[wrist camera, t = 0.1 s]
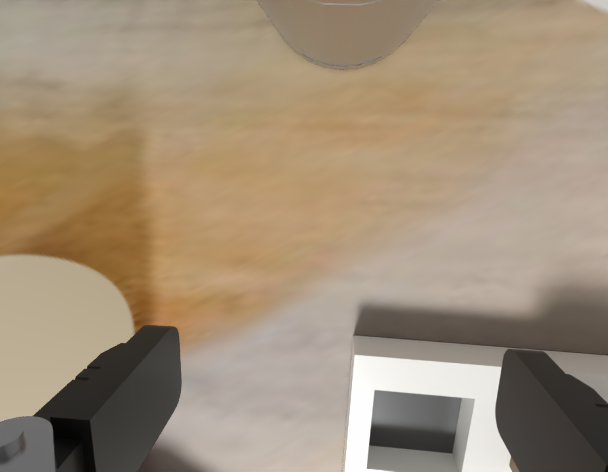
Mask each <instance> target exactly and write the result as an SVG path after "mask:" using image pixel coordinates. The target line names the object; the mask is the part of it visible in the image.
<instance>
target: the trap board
mask: <svg viewBox="0 0 608 472" xmlns="http://www.w3.org/2000/svg"><path fill="white" fill-rule="evenodd" d="M508 349H520V348H507V347H494V346H482V345H469V344H456V343H444V342H431V341H419V340H406V339H393V338H381V337H368V336H355V335H353V347H352V359H351V371H350V383H349V395H348V407H347V419H346V432H345V444H344V456H343V468H342V472H512V470H511V468H510V466H509V463H510V459H511V455H510V453H509V451H508V449H507V448H506V446H505V444H504V442H503V440H502V438H501V436H500V434H499V432H498V428H497V424H496V418H495V406H496V399H497V393H498V386H499V380H500V374H501V368H502V361H503V356H504V354H505V352H506V350H508ZM521 350H532V349H521ZM537 351H544V352H545V353H546V354H547V355H548V356H549V357H550V358H551V359H552V360H553V361H554V362H555V363H556V364H557V365H558V366H559V367H560V368H561V369H562V370H563V371H564V372H565V374H570V375H572V376H574V377H575V378H577V379H578V380H580V381H582V382H583V383H585V384H587V385H588V386H590V387H591V388H593V389H594V390H595V391H596V392H597V393H598V394H599V395H600V396H601V397H602V398H603V399H604V400H605V401H606V402H607V403H608V355H595V354H583V353H570V352H558V351H545V350H537Z"/></svg>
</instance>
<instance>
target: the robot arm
mask: <svg viewBox="0 0 608 472" xmlns="http://www.w3.org/2000/svg"><path fill="white" fill-rule="evenodd" d="M438 1H439V0H257V2H258V3H259V5H260V6H261V8H262V9H263V10H264V12H265V13H266V15H267V16H268V18H269V19H270V21H271V22H272V24H273V25H274V26H275V28H276V29H277V31H278V32H279V34H280V35H281V36H282V38H283V39H284V40H285V41H286V42H287V44H288V45H289V46H290V47H291V48H292V49H293V50H294V51H295V52H296V53H298V54H299V55H301V56H302V57H304V58H305V59H307V60H308V61H310V62H312V63H315V64H317V65H320V66H322V67H325V68H332V69H339V70H346V69H358V68H361V67H364V66H368V65H371V64H374V63H376V62H378V61H379V60H381V59H383V58H385V57H386V56H388V55H390V54H391V53H392V52H393V51H394V50H396V49H397V48H398V47H399V46H400V45H401V44H402V43H403V42H404V41H405V40H406V39H407V38H408V36H409V35H410V34H411V33H412V32H413V30H414V29H415V28H416V27H417V26H418V25H419V24H420V22H421V21H422V20H423V19H424V18H425V16H426V15H427V14H428V13H429V12H430V10H431V9H432V8H433V7H434V5H435V4H436V3H437V2H438ZM180 393H181V362H180V343H179V333H178V330H177V328H176V327H172V326H156V325H145V326H143V327H142V328H141V329H140V330H139V331H138V332H137V333H136V334H135V335H134V336H133V337H132V338H131V339H130V340H129V341H128V342H127V343H120V344H119V345H117V346H115V347H113V348H111V349H109V350H107V351H105V352H103V353H101V354H100V355H99V356H98V357H97V358H96V359H95V360H94V361H93V362H91V363H90V364H89V365H88V366H87V369H84V370H83V371H82V372H81V373H79V374H78V375H77V376H76V378H75V380H72V381H71V382H70V383H68V384H67V385H66V386H65V387H64V388H63V389H62V390H61V391H60V392H59V393H57V394H56V395H55V396H54V397H53V398H52V399H51V400H50V401H49V402H48V403H47V404H45V405H44V406H43V407H42V408H41V409H40V410H39V411H38V412H37V413H36V414H35V415H33V416H26V417H17V418H12V419H8V420H4V421H1V422H0V472H138V470H139V469H140V467H141V465H142V464H143V462H144V460H145V459H146V457H147V455H148V454H149V452H150V450H151V449H152V447H153V445H154V444H155V442H156V440H157V439H158V437H159V435H160V434H161V432H162V430H163V429H164V427H165V425H166V424H167V422H168V420H169V419H170V417H171V415H172V414H173V412H174V410H175V408H176V406H177V404H178V401H179V398H180ZM495 418H496V424H497V428H498V432H499V434H500V436H501V438H502V440H503V442H504V444H505V446H506V448H507V449H508V451H509V453H510V455H511V457H512V459H513V461H514V463H515V464H516V466H517V468H518V470H519V472H608V403H607V402H606V401H605V400H604V399H603V398H602V397H601V396H600V395H599V394H598V393H597V392H596V391H595V390H594V389H593V388H591V387H590V386H588V385H587V384H585V383H583V382H582V381H580V380H578V379H577V378H575V377H574V376H572V375H570V374H565V372H564V371H563V370H562V369H561V368H560V367H559V366H558V365H557V364H556V363H555V362H554V361H553V360H552V359H551V358H550V357H549V356H548V355H547V354H546V353H545V352H544V351H537V350H521V349H508V350H506V352H505V354H504V356H503V361H502V368H501V374H500V380H499V386H498V393H497V399H496V406H495Z"/></svg>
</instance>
